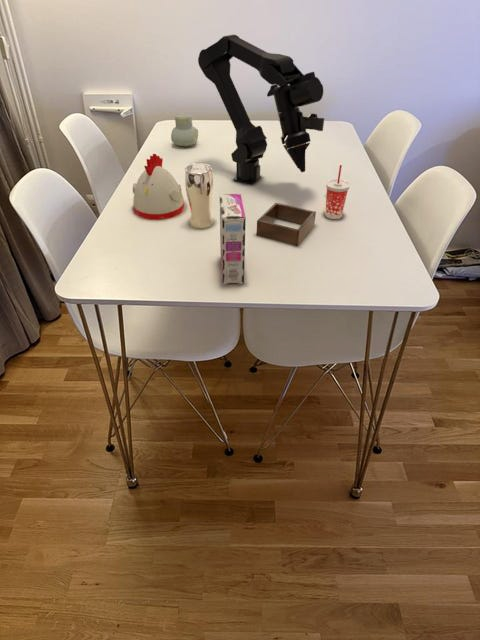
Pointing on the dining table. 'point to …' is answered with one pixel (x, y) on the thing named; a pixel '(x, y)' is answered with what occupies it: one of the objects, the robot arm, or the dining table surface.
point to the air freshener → (184, 130)
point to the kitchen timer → (157, 192)
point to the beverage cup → (336, 197)
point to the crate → (282, 232)
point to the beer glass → (199, 194)
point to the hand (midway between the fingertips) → (301, 169)
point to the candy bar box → (232, 238)
